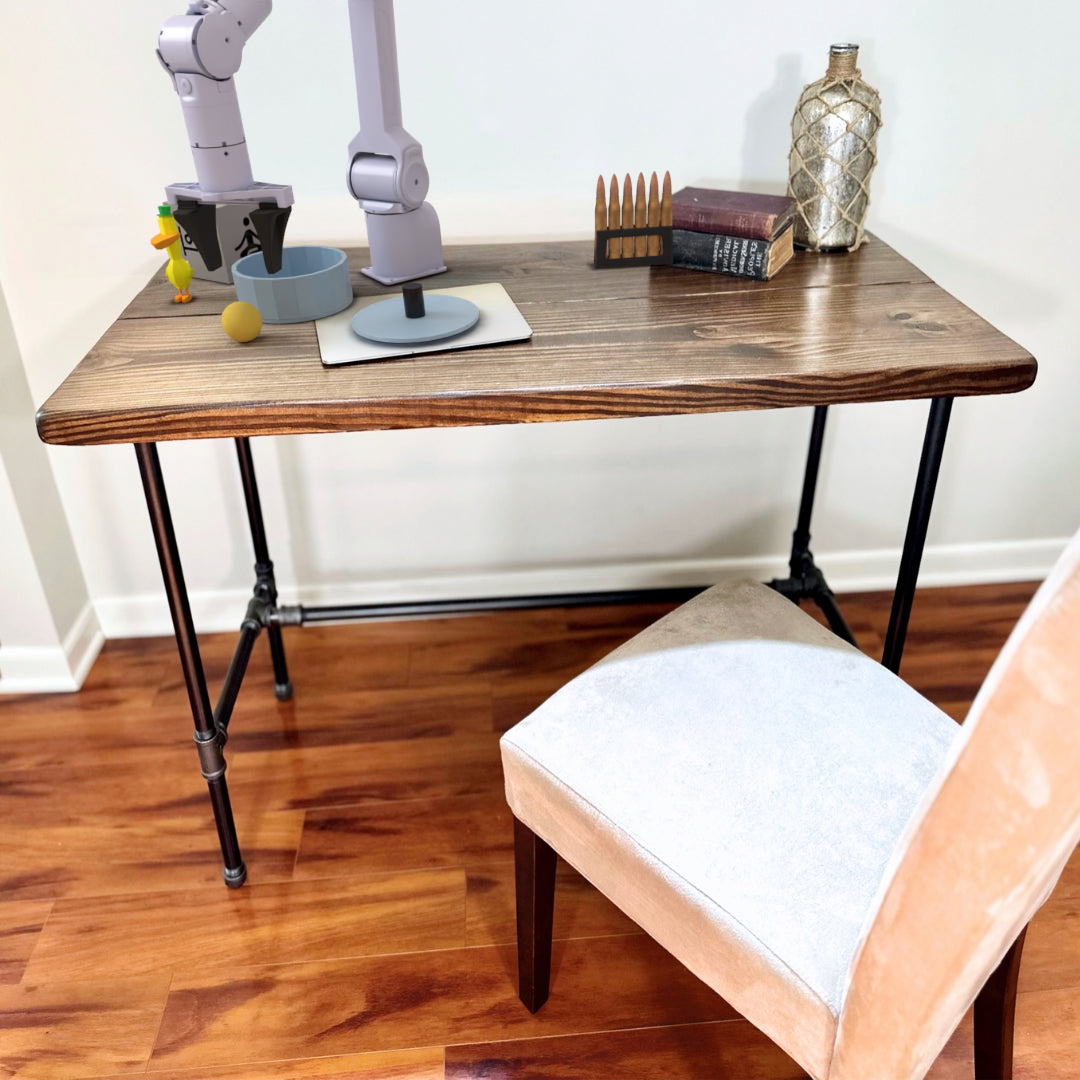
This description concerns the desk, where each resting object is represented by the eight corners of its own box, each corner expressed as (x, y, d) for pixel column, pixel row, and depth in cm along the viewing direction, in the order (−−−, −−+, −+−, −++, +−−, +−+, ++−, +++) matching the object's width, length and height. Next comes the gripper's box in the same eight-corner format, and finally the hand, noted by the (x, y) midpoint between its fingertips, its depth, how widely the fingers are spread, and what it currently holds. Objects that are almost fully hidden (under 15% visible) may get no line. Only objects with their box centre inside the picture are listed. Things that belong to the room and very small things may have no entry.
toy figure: (183, 309, 125) (159, 214, 118) (157, 309, 125) (132, 214, 119) (207, 292, 130) (185, 200, 124) (182, 292, 131) (160, 200, 124)
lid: (438, 294, 125) (435, 258, 123) (504, 325, 115) (501, 286, 112) (331, 322, 118) (325, 284, 116) (390, 358, 107) (384, 317, 105)
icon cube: (180, 274, 138) (162, 202, 132) (233, 255, 145) (218, 186, 139) (229, 283, 133) (213, 209, 127) (281, 263, 140) (268, 192, 135)
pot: (324, 279, 133) (317, 238, 130) (372, 305, 123) (366, 262, 120) (224, 302, 126) (214, 260, 123) (266, 332, 116) (257, 287, 113)
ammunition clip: (670, 259, 133) (673, 168, 127) (673, 263, 132) (676, 171, 125) (593, 264, 133) (592, 173, 126) (595, 268, 131) (594, 176, 125)
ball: (257, 330, 117) (249, 293, 114) (271, 340, 114) (264, 302, 111) (220, 339, 115) (211, 302, 112) (234, 350, 112) (225, 312, 109)
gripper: (136, 150, 101) (169, 278, 108) (260, 151, 98) (285, 283, 105) (175, 137, 107) (203, 259, 114) (293, 137, 103) (314, 264, 111)
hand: (244, 270), depth 110 cm, fingers open, 7 cm apart
